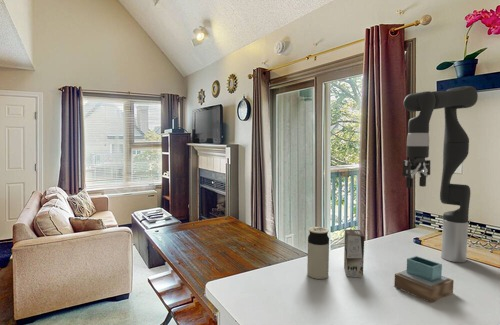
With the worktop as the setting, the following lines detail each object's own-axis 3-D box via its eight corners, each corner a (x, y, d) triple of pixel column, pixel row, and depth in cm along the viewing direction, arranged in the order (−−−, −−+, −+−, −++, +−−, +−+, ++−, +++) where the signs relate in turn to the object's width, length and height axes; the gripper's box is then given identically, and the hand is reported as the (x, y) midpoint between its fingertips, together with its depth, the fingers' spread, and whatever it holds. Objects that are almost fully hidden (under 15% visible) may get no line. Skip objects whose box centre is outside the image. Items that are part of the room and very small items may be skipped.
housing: (441, 278, 104) (441, 264, 104) (432, 282, 101) (432, 267, 101) (415, 269, 112) (416, 255, 111) (406, 272, 109) (407, 258, 109)
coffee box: (363, 278, 116) (364, 236, 115) (346, 276, 117) (347, 235, 116) (360, 268, 125) (361, 229, 124) (343, 267, 126) (344, 228, 125)
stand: (416, 278, 116) (416, 265, 115) (452, 292, 104) (453, 278, 104) (394, 286, 109) (394, 272, 109) (431, 302, 98) (431, 287, 98)
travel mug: (332, 274, 118) (333, 229, 117) (321, 281, 113) (322, 233, 111) (314, 269, 124) (315, 225, 123) (303, 275, 118) (304, 229, 117)
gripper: (416, 145, 110) (414, 189, 111) (438, 145, 117) (436, 187, 119) (397, 145, 117) (395, 187, 118) (419, 145, 124) (417, 184, 125)
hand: (416, 187), depth 118 cm, fingers open, 8 cm apart
